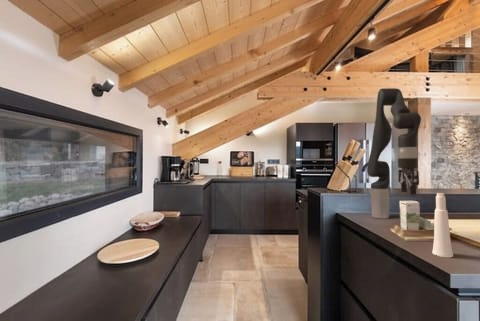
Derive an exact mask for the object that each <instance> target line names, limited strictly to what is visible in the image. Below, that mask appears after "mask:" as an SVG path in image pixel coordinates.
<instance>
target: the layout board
mask: <svg viewBox="0 0 480 321" xmlns="http://www.w3.org/2000/svg"><path fill="white" fill-rule="evenodd" d="M389 230H390V231H391V232H392V233H394V234H395V235H397V236H399V237H400V238H402V239H403V240H404V241H406V242H434V230H426V229H424V228H422V227H420V230H404V229H402V228H401V227H400V224H399V225H398V224H394V226H393V227H390V228H389ZM450 241H451V242H452V239H451V238H450Z"/></svg>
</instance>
